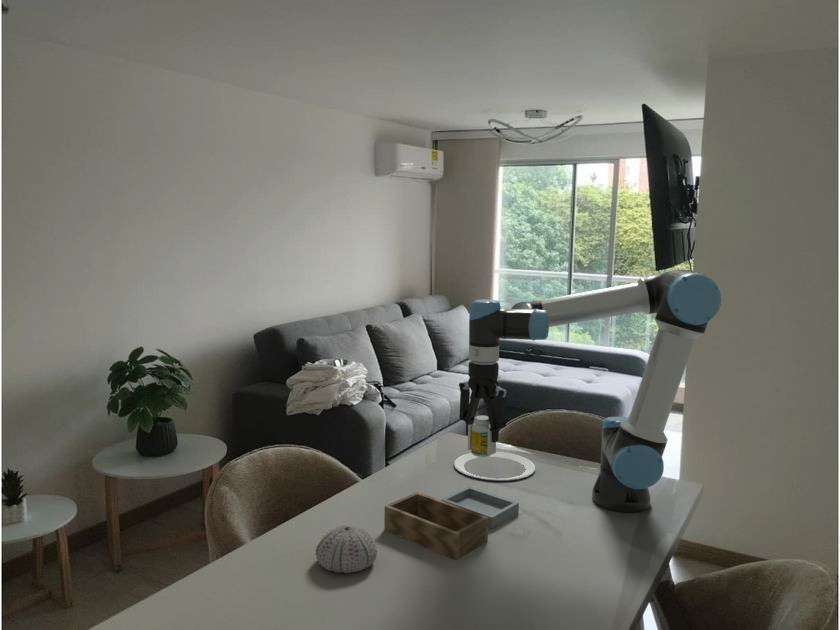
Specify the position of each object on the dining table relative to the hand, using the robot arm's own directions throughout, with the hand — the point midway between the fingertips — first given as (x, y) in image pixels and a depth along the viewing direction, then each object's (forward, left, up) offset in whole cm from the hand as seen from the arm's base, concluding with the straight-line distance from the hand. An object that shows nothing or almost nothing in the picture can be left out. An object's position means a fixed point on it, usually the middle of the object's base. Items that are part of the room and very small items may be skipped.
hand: (481, 450), depth 172 cm
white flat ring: (+16, -30, -17) cm, 38 cm away
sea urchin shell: (+6, +41, -17) cm, 45 cm away
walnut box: (0, +18, -16) cm, 24 cm away
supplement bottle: (0, 0, -1) cm, 1 cm away
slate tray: (0, 0, -16) cm, 16 cm away
